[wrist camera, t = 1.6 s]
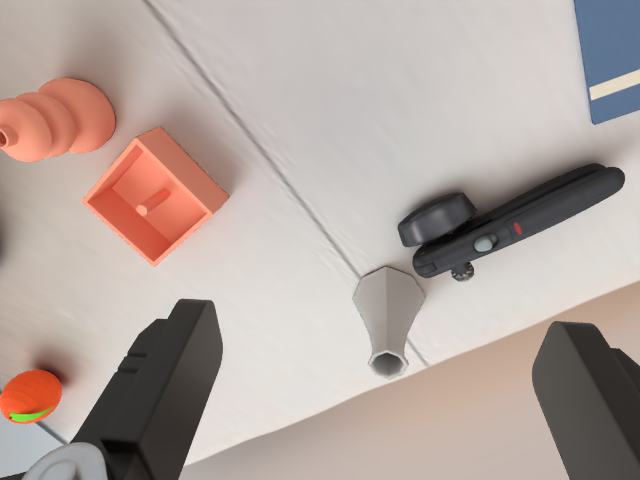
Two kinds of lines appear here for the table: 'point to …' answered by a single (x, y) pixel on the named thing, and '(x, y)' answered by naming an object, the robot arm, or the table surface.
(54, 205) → the table surface
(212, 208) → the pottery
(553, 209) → the can opener
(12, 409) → the clementine
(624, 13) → the tea towel
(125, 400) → the robot arm
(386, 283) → the flask
